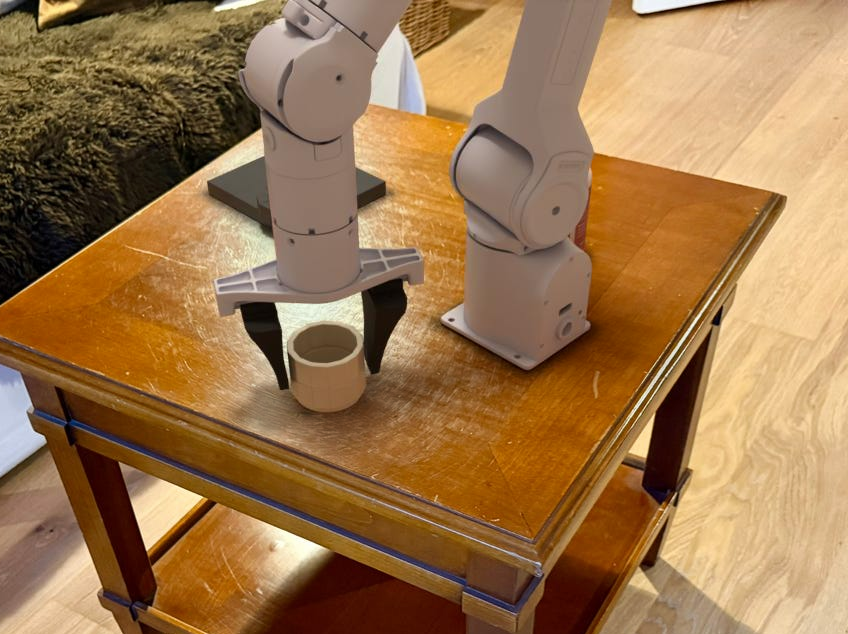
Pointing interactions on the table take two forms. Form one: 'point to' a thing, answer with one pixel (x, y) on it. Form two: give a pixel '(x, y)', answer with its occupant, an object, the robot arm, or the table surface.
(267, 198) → the scale
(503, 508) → the table surface
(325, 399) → the beige hollow cylinder
